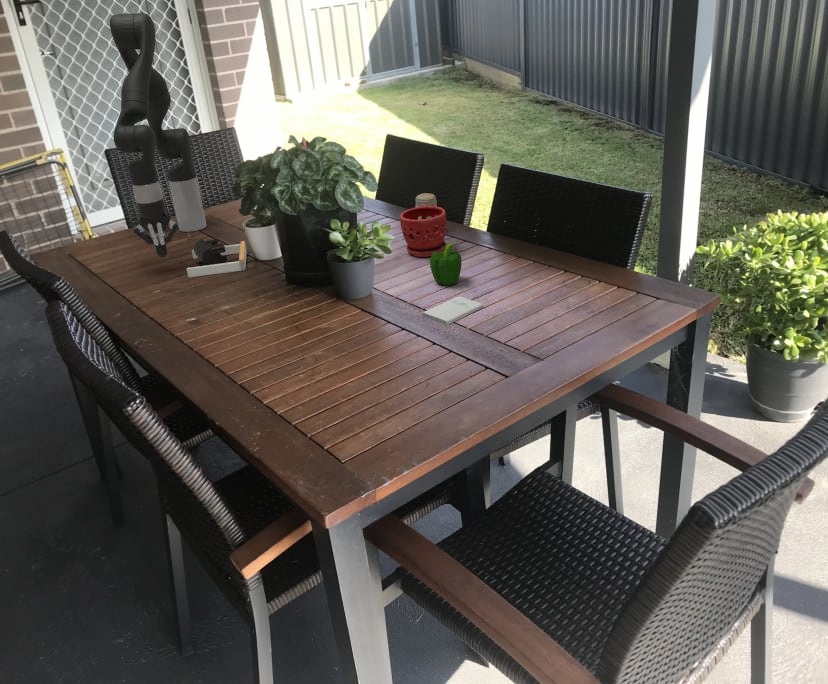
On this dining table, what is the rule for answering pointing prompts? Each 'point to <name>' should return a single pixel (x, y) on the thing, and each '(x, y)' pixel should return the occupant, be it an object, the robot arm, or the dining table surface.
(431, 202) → the carving
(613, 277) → the dining table surface
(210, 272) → the frame
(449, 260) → the bell pepper
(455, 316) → the external hard drive
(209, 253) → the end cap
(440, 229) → the plant pot
